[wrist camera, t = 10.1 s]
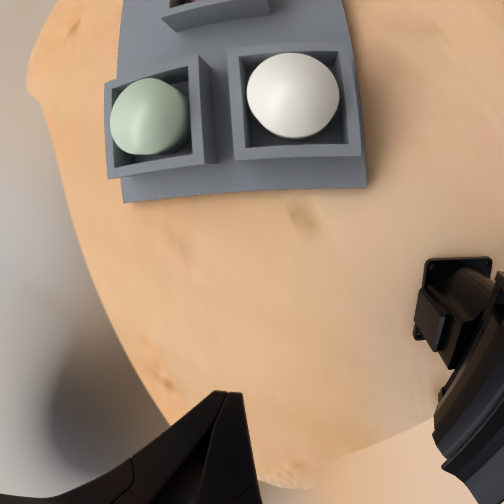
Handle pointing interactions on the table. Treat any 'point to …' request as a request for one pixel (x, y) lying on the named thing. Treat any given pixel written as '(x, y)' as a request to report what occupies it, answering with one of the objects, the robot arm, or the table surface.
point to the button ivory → (293, 96)
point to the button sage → (151, 118)
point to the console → (234, 96)
